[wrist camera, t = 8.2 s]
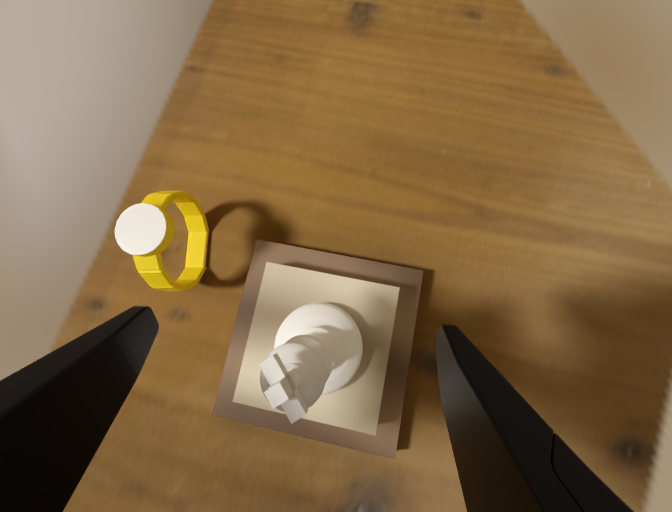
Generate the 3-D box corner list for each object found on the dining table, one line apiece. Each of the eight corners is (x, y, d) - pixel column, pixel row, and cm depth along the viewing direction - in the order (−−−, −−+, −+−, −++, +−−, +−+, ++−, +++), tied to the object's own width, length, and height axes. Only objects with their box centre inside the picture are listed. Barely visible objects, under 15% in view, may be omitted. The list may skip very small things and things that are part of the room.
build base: (392, 451, 18) (399, 473, 16) (219, 409, 19) (199, 424, 16) (419, 272, 20) (429, 267, 17) (260, 242, 21) (248, 233, 18)
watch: (216, 290, 21) (162, 291, 15) (177, 290, 21) (108, 291, 15) (220, 206, 21) (169, 174, 15) (182, 206, 22) (118, 175, 16)
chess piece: (332, 286, 17) (310, 253, 8) (379, 361, 17) (423, 433, 7) (259, 332, 17) (140, 360, 7) (304, 411, 16) (235, 562, 6)
